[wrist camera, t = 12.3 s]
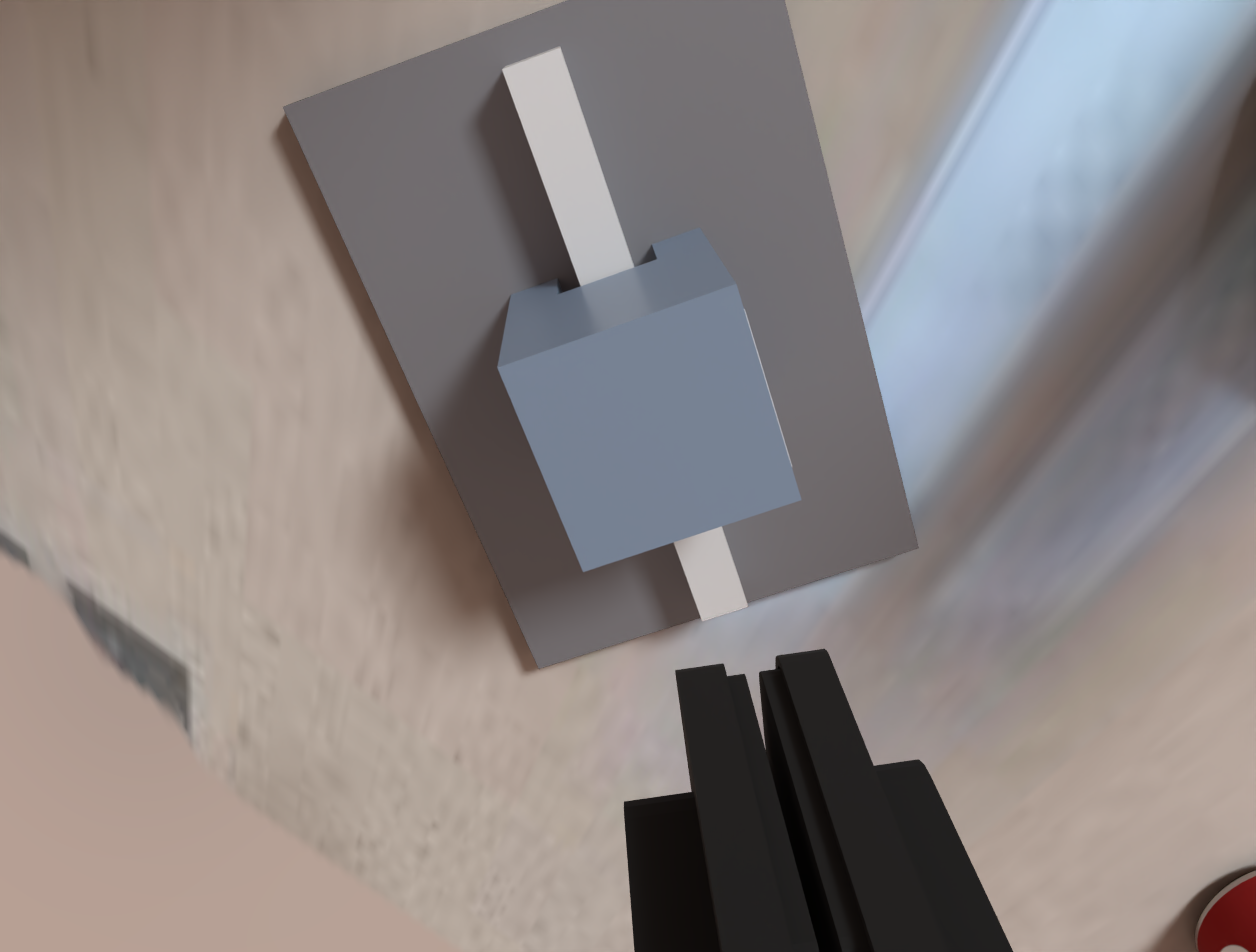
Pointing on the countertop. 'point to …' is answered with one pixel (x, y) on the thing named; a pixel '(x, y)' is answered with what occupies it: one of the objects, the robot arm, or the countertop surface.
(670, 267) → the block
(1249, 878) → the soda can
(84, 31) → the countertop surface
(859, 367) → the rail plate
